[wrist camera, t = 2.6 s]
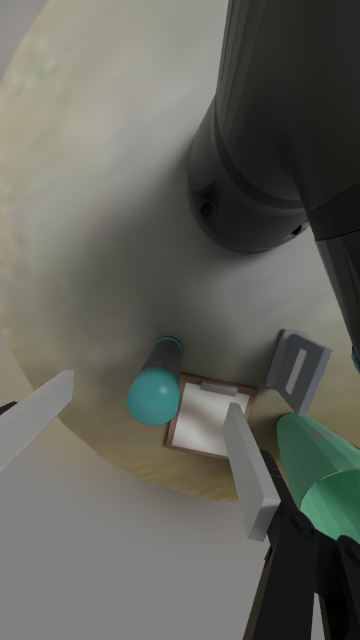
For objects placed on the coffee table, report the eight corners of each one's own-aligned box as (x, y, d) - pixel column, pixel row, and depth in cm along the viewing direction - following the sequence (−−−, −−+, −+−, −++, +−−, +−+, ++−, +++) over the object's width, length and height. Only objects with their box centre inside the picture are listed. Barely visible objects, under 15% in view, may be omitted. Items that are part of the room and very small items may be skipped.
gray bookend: (283, 328, 24) (314, 344, 18) (305, 333, 24) (343, 350, 18) (264, 384, 25) (287, 415, 20) (284, 388, 25) (313, 420, 20)
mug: (251, 445, 28) (285, 534, 18) (270, 391, 26) (320, 459, 16) (343, 464, 28) (428, 563, 18) (370, 411, 26) (482, 491, 16)
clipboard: (181, 372, 26) (181, 377, 24) (255, 387, 26) (259, 393, 24) (165, 444, 29) (164, 451, 27) (232, 458, 28) (234, 466, 27)
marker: (156, 332, 25) (129, 374, 14) (185, 338, 25) (183, 385, 14) (151, 360, 26) (123, 419, 15) (179, 366, 26) (173, 430, 15)
